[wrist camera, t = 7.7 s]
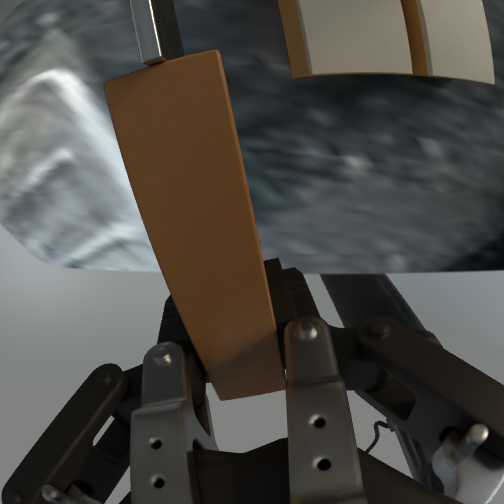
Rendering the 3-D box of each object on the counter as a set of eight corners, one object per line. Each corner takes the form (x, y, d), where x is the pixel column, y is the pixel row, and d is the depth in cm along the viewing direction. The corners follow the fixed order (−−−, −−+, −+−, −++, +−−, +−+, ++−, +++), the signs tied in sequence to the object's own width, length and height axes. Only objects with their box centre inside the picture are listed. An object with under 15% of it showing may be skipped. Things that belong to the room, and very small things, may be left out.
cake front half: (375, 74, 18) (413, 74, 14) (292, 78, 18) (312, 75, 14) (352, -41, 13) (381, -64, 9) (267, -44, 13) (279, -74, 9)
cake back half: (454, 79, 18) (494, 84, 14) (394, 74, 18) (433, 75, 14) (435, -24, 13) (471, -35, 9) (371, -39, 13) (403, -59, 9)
